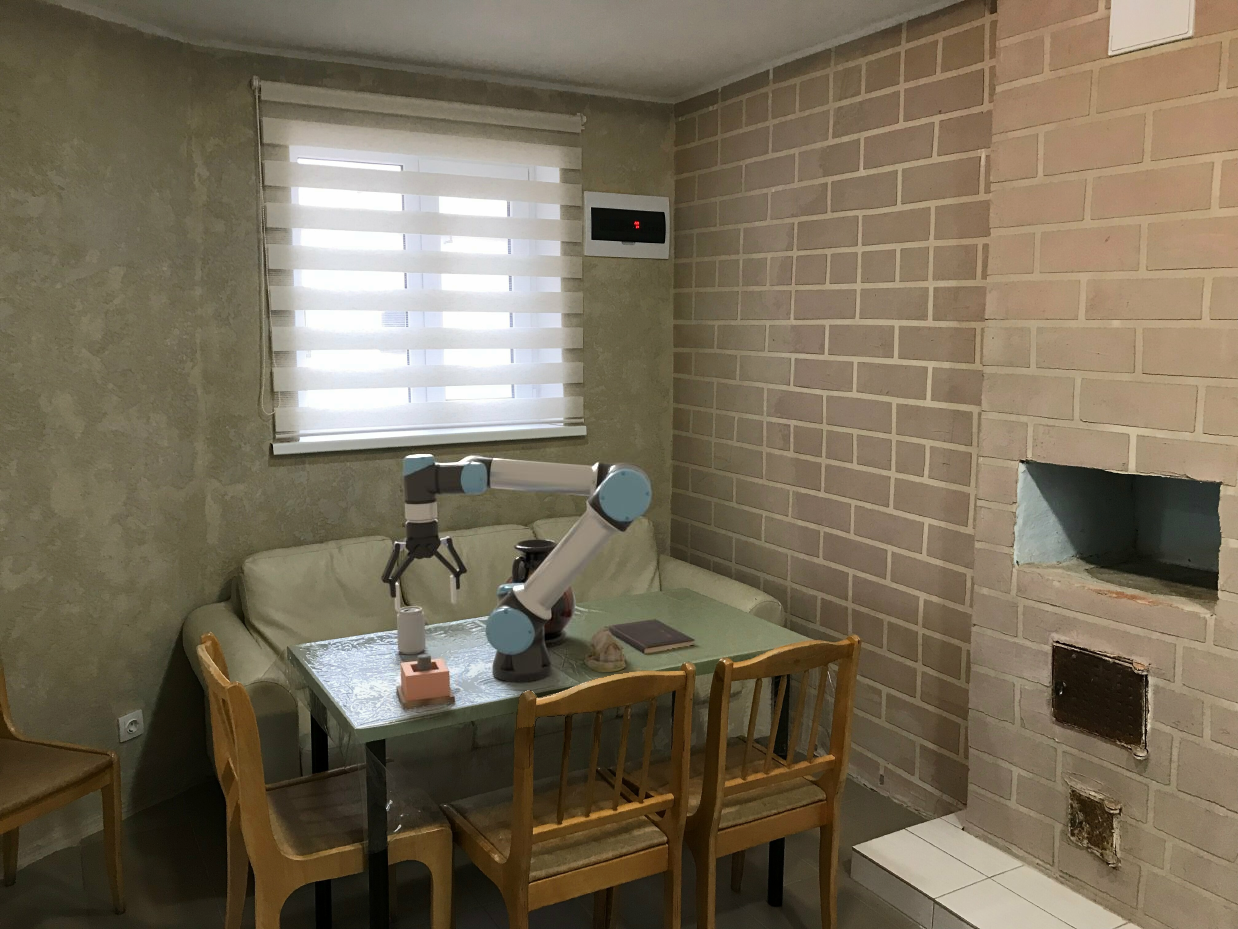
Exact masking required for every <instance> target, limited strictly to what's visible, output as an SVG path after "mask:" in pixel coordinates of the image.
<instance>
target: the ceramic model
mask: <svg viewBox="0 0 1238 929" xmlns="http://www.w3.org/2000/svg"><path fill="white" fill-rule="evenodd" d="M589 646H590V651H589V652H588V653H586V656H585V659H584V663H585V664H586V665H587V667H589V668H590V669H591V670H593V671H596V672H598V673H610V672H611V673H612V672H618V671H620V670H623V669H624V668H626V663H625V661H626V654H624V653H623V650H624V646H623V645H622V643H620V642H619V641H618V639H617V638H616V637H615V636H613V635H612V634H611V633H610V632H609V627H608V626H607V625H606V626H602V627H600V628H599V630H598V631H596V633H594V635H593V636H592V637H591V639H590V640H589Z"/></svg>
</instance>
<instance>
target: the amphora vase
mask: <svg viewBox="0 0 1238 929" xmlns="http://www.w3.org/2000/svg"><path fill="white" fill-rule="evenodd" d="M558 544H559V543H558V542H557V541H555V540H550V539H527V540H521V541H517V542H516V543H514V544H513V549H514V550H515V551H517V552H519V553H520V556H518V557H515V559H514V560H513V562H512V566H511V573H510V575H509V576H508V577H507V579H506V580H505V583H504V584H511V583H526V581H527V580H528V579H529V578H530V577H531V576H532V574H533V573H534V572H535V571H536V570H537V568H538V567H539V566H540V565H541V564H542V563H543V561H544V560H545V559H546V558H547V557H548V556H549V554H550V553H551V552H552V551H553V550H554V548H555V547H556V546H557V545H558ZM575 613H576V596H575V592H574V589H573V586H572V584H571V585H570V586H569V587H568V589H567V590H566V591H565V592H564V593H563V594H562V596H561V597H560V598H559V599H558V600H557V601H556V603H555V604H554V605H553V606H552V607H551V618H550V619H549V621H548V622H547V623H546V624H545V625H544V642H545V645H546V648H548V647H553V646H556V645H559V644H561V643H563V642H564V641H565V640H566V639H567V638H568V637H567V636H568V633H567V631H566V630H565V629H566V628H567V627H568V626H569V624H571V622H572V620H573V619H574V615H575Z"/></svg>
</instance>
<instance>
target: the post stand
mask: <svg viewBox="0 0 1238 929" xmlns="http://www.w3.org/2000/svg"><path fill="white" fill-rule="evenodd" d="M416 658H417V659H416V661H417V666H418V672H421V671H429V670H431V659H432V656H431V654H419V655H417V657H416ZM395 688H396V694H397V697H398V699H400V700H399V702H400V704H402V705H401V707H403V708H402V709H403V710H408V708H410V709H417V708H423V707H422V706H425V707H433V706H438V705H445V704H446V705H447V704H448V705H449V704H452V702H455V703H456V696H455V694H454V693H453V690H452V689H451V687H450V696H443V697H435V698H427V699H420V700H412V701H407V700H406V697H405V695H404V692H403V690H402V688H401V685H396V687H395ZM415 707H416V708H415ZM405 708H407V709H405Z"/></svg>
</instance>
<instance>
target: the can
mask: <svg viewBox="0 0 1238 929" xmlns="http://www.w3.org/2000/svg"><path fill="white" fill-rule="evenodd" d="M400 610H401V611H400V612H397V614H396V632H397V634H396V635H397V650H398V651H399V652H400V654H404V655H415V654H420V653H422V652H423V651H424V650H425V649H426V647H427V645H426V617H425V616H426V615H425V612H424V611H423V608H422V606H416V605H415V606H414V605H413V606H412V605H411V606H410V605H409V606H408V605H407V606H403V607H400Z"/></svg>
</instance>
